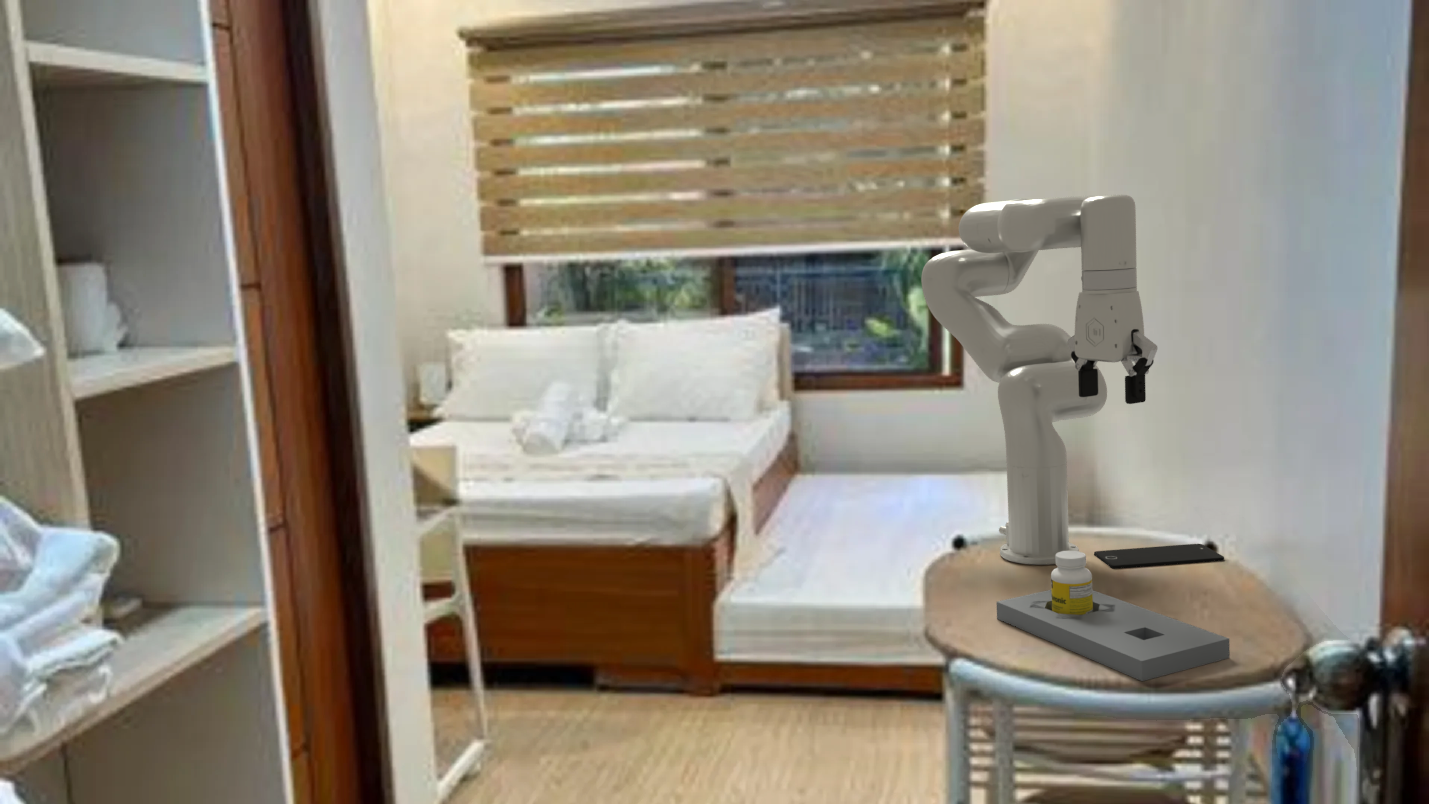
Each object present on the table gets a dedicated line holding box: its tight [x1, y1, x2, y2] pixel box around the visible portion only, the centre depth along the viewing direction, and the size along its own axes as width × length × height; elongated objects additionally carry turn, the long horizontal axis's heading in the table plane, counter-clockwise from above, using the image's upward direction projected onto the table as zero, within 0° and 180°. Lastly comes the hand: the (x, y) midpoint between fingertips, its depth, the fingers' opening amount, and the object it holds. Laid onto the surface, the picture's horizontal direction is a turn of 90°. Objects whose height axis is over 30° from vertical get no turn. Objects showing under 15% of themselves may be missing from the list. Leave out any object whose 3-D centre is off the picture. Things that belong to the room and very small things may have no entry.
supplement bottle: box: [1050, 550, 1093, 615], centre depth 164 cm, size 5×5×10 cm
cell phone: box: [1093, 543, 1225, 570], centre depth 193 cm, size 9×18×1 cm, turn 92°
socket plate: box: [996, 589, 1230, 682], centre depth 158 cm, size 28×14×2 cm, turn 24°
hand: (1111, 399), depth 175 cm, fingers open, 9 cm apart
